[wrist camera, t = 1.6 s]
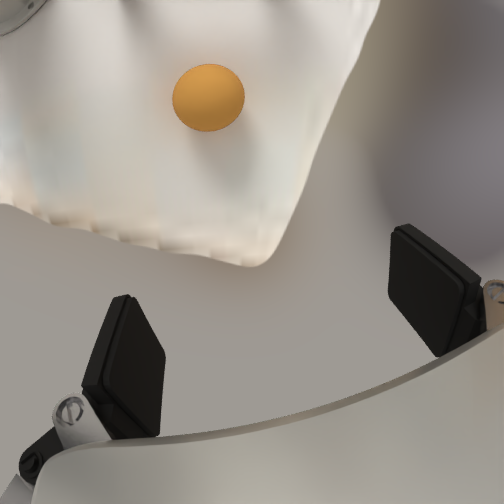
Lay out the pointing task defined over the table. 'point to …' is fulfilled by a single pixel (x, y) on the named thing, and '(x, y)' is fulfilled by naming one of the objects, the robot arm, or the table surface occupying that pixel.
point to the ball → (208, 97)
